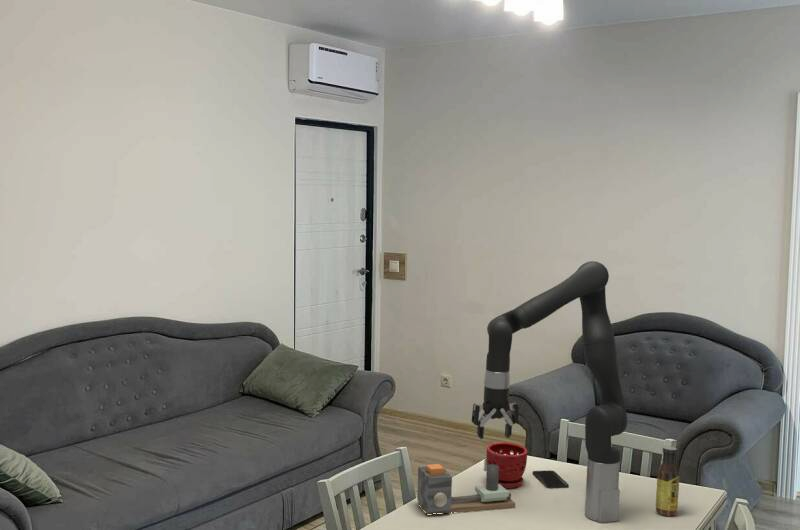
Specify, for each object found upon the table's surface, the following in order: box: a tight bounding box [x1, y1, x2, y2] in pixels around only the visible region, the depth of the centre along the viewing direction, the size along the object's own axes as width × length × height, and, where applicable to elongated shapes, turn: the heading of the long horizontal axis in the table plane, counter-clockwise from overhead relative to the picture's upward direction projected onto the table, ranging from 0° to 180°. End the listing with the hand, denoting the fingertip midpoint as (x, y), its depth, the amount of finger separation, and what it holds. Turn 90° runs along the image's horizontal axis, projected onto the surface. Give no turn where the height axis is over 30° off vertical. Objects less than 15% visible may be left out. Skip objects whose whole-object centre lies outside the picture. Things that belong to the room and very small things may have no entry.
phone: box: [532, 470, 569, 490], centre depth 271 cm, size 8×1×15 cm
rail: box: [417, 466, 516, 514], centre depth 244 cm, size 11×28×12 cm, turn 107°
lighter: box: [483, 450, 505, 472], centre depth 279 cm, size 7×2×8 cm, turn 101°
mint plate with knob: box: [474, 464, 510, 502], centre depth 247 cm, size 7×8×10 cm
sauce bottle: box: [655, 445, 680, 517], centre depth 244 cm, size 7×6×20 cm
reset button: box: [425, 463, 445, 475], centre depth 241 cm, size 4×4×3 cm
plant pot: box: [485, 442, 528, 489], centre depth 266 cm, size 13×13×12 cm
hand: (494, 437), depth 247 cm, fingers open, 8 cm apart
